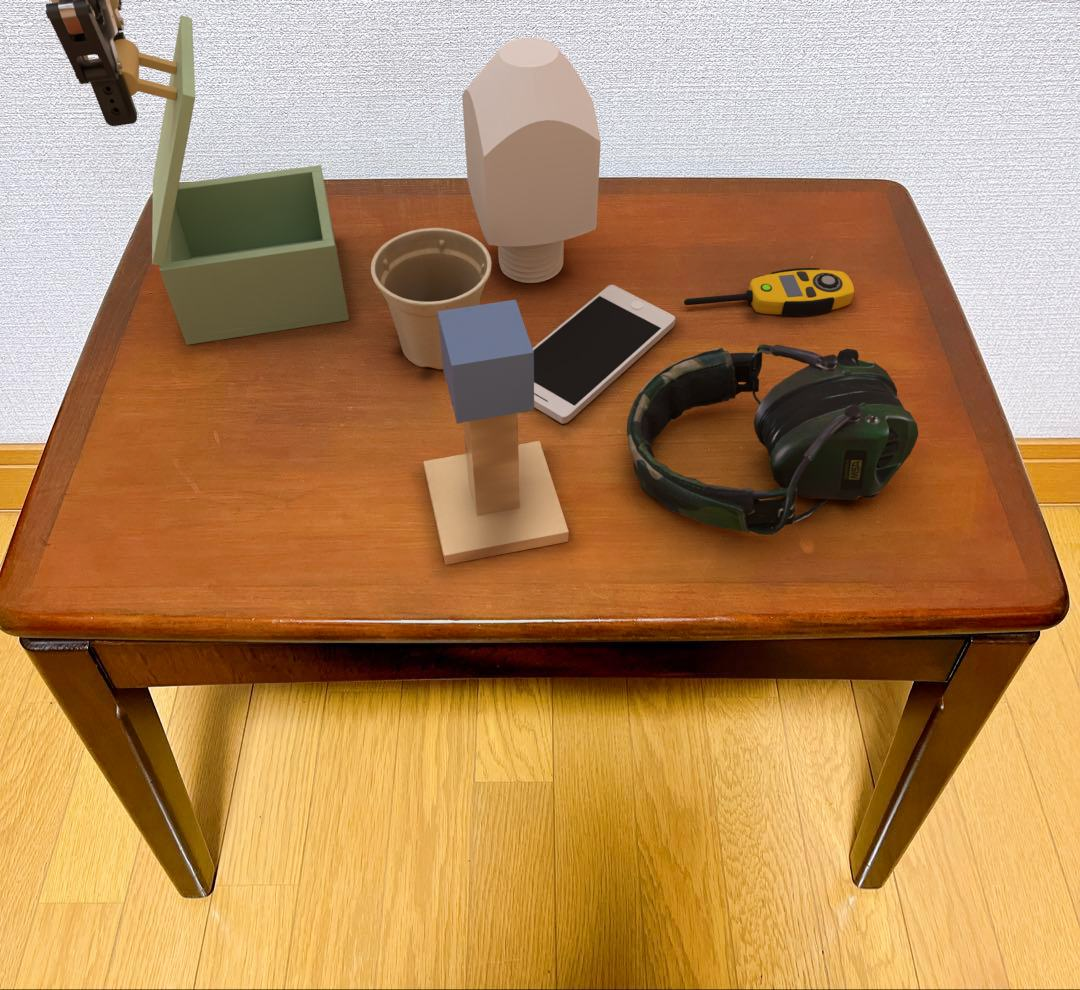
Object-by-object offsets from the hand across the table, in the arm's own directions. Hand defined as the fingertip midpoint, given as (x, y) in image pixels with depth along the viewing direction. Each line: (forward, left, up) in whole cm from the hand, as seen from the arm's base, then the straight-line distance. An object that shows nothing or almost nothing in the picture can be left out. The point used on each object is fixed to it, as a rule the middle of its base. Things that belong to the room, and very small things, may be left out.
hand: (123, 101), depth 75 cm
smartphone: (+32, -15, -19) cm, 40 cm away
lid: (+3, 0, -4) cm, 5 cm away
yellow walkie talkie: (+49, -12, -19) cm, 54 cm away
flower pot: (+20, -11, -19) cm, 30 cm away
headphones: (+42, -30, -19) cm, 55 cm away
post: (+21, -29, -19) cm, 41 cm away
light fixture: (+30, -2, -19) cm, 36 cm away
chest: (+6, 0, -19) cm, 20 cm away
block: (+21, -29, -7) cm, 37 cm away
